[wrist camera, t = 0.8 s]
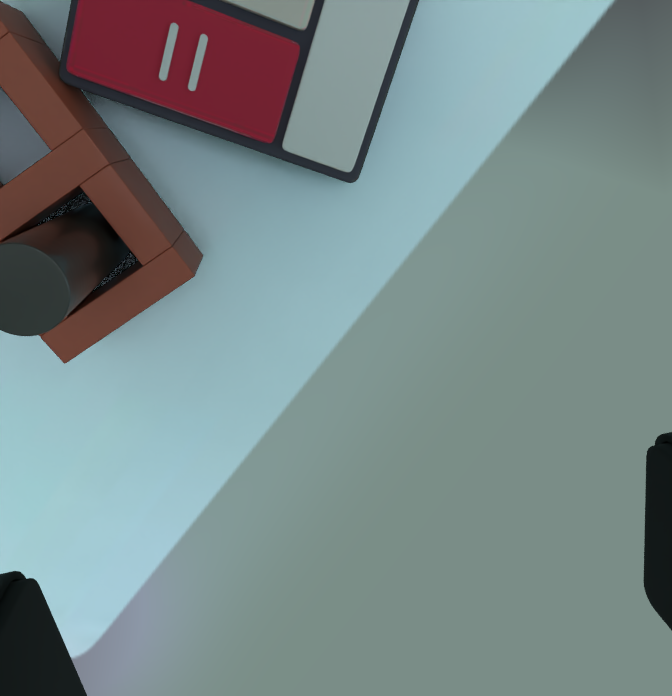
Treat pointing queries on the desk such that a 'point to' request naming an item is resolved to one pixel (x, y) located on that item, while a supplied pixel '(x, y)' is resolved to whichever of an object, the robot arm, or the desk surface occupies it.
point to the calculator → (247, 69)
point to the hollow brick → (85, 190)
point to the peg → (55, 269)
